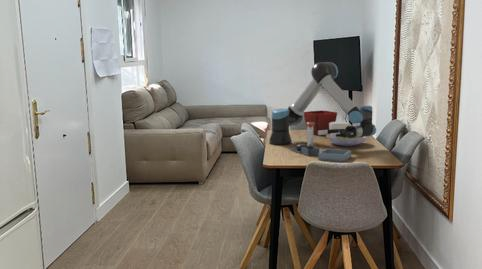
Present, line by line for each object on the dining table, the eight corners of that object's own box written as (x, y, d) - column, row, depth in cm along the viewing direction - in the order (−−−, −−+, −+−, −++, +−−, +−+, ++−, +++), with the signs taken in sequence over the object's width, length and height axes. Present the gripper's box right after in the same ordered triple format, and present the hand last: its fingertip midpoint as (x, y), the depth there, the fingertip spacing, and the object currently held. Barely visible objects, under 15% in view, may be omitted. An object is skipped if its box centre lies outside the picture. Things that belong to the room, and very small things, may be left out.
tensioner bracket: (290, 150, 301) (290, 144, 300) (303, 149, 304) (303, 143, 304) (307, 156, 283) (307, 149, 282) (320, 154, 286) (320, 148, 286)
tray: (318, 159, 272) (318, 152, 271) (326, 155, 285) (326, 148, 285) (344, 162, 265) (344, 154, 265) (351, 157, 278) (351, 150, 278)
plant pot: (302, 133, 372) (302, 111, 369) (323, 131, 380) (323, 110, 377) (316, 136, 355) (316, 113, 352) (337, 134, 363) (338, 112, 360)
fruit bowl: (337, 139, 339) (337, 124, 337) (373, 143, 322) (374, 127, 320) (317, 145, 317) (317, 128, 315) (354, 150, 300) (355, 132, 298)
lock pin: (305, 154, 287) (305, 123, 284) (307, 153, 291) (307, 122, 288) (312, 155, 285) (313, 123, 282) (315, 153, 289) (315, 122, 286)
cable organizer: (330, 139, 340) (330, 123, 338) (328, 137, 350) (329, 121, 348) (351, 139, 338) (351, 123, 336) (349, 137, 348) (350, 121, 347)
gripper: (365, 140, 287) (336, 143, 279) (341, 135, 310) (313, 137, 302) (366, 127, 286) (336, 130, 278) (341, 123, 309) (313, 125, 301)
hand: (324, 134), depth 290 cm, fingers open, 13 cm apart
